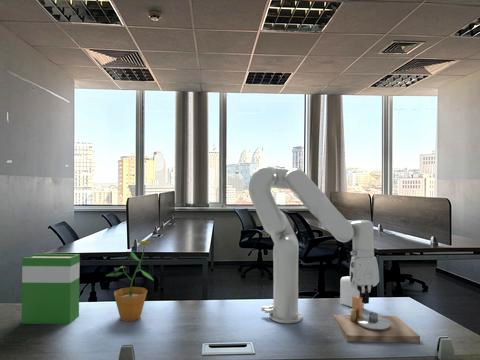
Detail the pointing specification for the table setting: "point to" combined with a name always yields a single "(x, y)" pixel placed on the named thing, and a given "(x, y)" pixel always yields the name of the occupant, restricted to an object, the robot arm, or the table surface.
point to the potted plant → (130, 292)
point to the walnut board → (360, 334)
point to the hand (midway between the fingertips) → (364, 302)
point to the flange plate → (368, 317)
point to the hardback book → (50, 288)
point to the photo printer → (347, 292)
